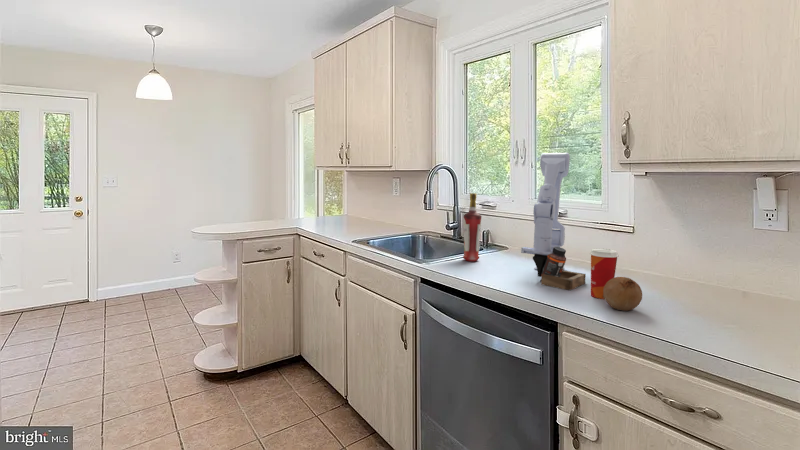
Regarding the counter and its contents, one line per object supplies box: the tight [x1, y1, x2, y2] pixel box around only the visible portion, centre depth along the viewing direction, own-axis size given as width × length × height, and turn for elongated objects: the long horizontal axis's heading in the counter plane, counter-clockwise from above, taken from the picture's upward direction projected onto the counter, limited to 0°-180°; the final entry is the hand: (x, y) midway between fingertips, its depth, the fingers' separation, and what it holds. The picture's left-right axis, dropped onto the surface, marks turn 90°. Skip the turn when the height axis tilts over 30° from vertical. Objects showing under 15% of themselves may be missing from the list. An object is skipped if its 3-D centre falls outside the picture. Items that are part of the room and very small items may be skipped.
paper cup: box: [589, 248, 619, 300], centre depth 126 cm, size 8×8×14 cm
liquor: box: [462, 192, 482, 263], centre depth 175 cm, size 7×7×28 cm
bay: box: [540, 269, 586, 291], centre depth 140 cm, size 12×10×3 cm
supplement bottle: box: [540, 247, 567, 278], centre depth 142 cm, size 6×6×11 cm
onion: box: [603, 276, 643, 312], centre depth 115 cm, size 10×9×10 cm
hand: (540, 276), depth 146 cm, fingers closed, pressing on supplement bottle
